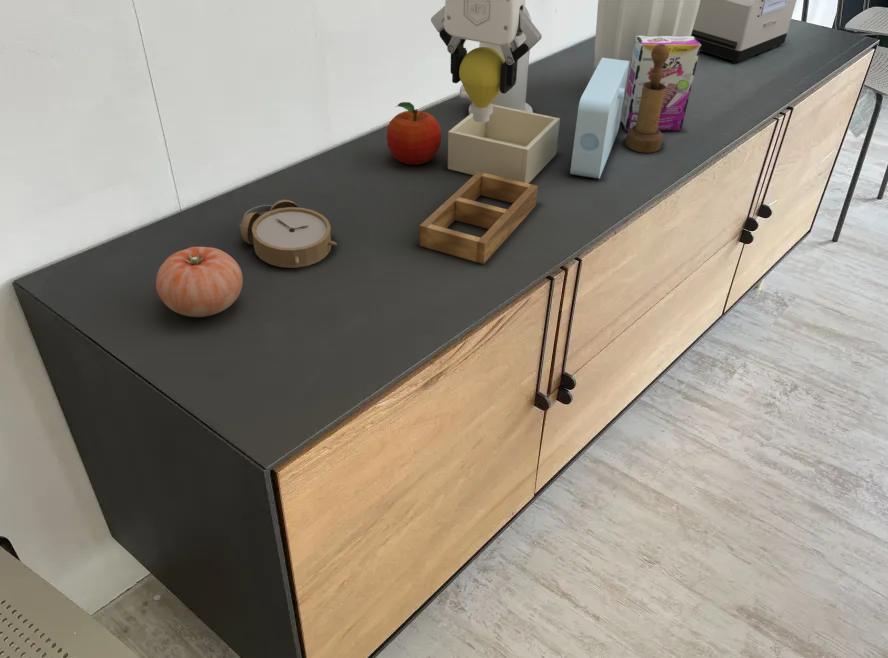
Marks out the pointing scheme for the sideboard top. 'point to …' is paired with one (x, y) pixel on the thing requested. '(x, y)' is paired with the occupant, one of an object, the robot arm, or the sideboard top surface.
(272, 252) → the alarm clock
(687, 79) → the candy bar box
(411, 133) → the fruit
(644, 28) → the vase
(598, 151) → the radio
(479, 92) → the light bulb
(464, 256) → the wooden frame
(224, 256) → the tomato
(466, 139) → the wooden box
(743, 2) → the toaster
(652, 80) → the mortar and pestle
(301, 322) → the sideboard top surface
